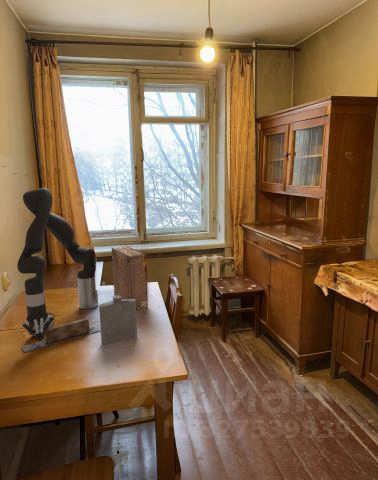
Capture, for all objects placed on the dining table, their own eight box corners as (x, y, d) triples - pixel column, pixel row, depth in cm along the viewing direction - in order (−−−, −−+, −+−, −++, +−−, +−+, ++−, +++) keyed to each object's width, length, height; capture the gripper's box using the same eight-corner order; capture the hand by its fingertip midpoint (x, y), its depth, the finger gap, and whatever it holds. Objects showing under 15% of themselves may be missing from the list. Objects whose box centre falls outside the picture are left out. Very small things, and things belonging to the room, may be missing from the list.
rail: (102, 325, 171) (102, 324, 171) (106, 329, 167) (106, 328, 167) (21, 347, 151) (21, 346, 150) (24, 352, 147) (24, 351, 146)
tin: (51, 324, 173) (49, 308, 171) (56, 325, 172) (55, 309, 170) (28, 338, 159) (26, 321, 157) (33, 339, 158) (31, 322, 156)
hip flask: (102, 344, 152) (99, 301, 148) (100, 340, 156) (97, 298, 152) (138, 337, 159) (136, 295, 155) (135, 333, 162) (133, 292, 158)
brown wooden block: (87, 329, 166) (86, 317, 165) (90, 332, 163) (89, 320, 162) (46, 340, 156) (44, 327, 154) (48, 344, 152) (47, 331, 151)
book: (114, 297, 208) (111, 247, 202) (128, 293, 213) (126, 245, 207) (132, 311, 188) (130, 256, 182) (148, 307, 193) (146, 253, 187)
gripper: (49, 296, 155) (53, 332, 159) (17, 303, 148) (21, 341, 151) (54, 301, 149) (58, 339, 153) (20, 309, 142) (25, 348, 145)
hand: (39, 340), depth 152 cm, fingers closed
